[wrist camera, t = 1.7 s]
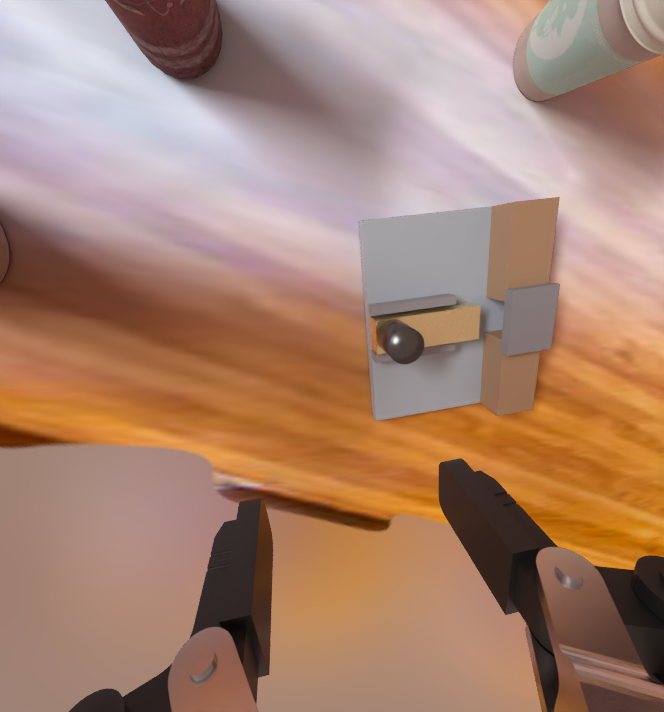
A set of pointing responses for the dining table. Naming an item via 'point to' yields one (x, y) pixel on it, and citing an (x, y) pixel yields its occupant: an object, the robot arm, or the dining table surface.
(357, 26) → the dining table surface
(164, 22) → the can
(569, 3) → the coffee cup
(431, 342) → the bolt
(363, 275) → the door plate
